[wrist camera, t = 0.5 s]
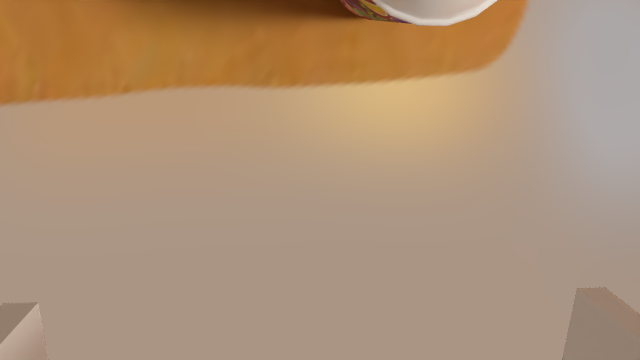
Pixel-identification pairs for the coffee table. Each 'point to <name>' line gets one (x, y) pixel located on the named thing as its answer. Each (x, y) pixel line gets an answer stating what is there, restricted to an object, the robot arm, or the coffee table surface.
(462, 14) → the smoothie
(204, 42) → the coffee table surface
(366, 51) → the coffee table surface
